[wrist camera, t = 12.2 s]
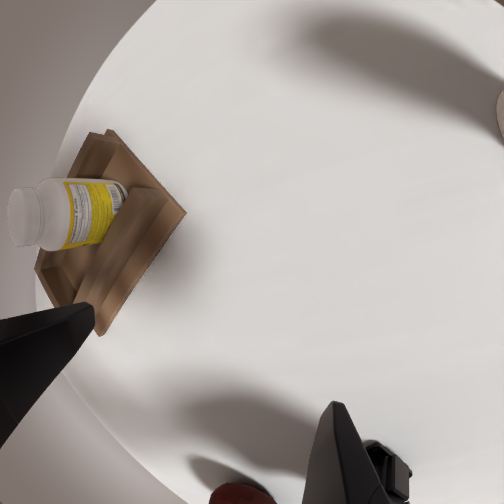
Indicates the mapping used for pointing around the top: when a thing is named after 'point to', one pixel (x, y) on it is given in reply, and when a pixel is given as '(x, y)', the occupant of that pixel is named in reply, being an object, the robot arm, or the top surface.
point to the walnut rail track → (111, 234)
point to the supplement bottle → (64, 212)
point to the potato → (239, 495)
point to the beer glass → (500, 112)
